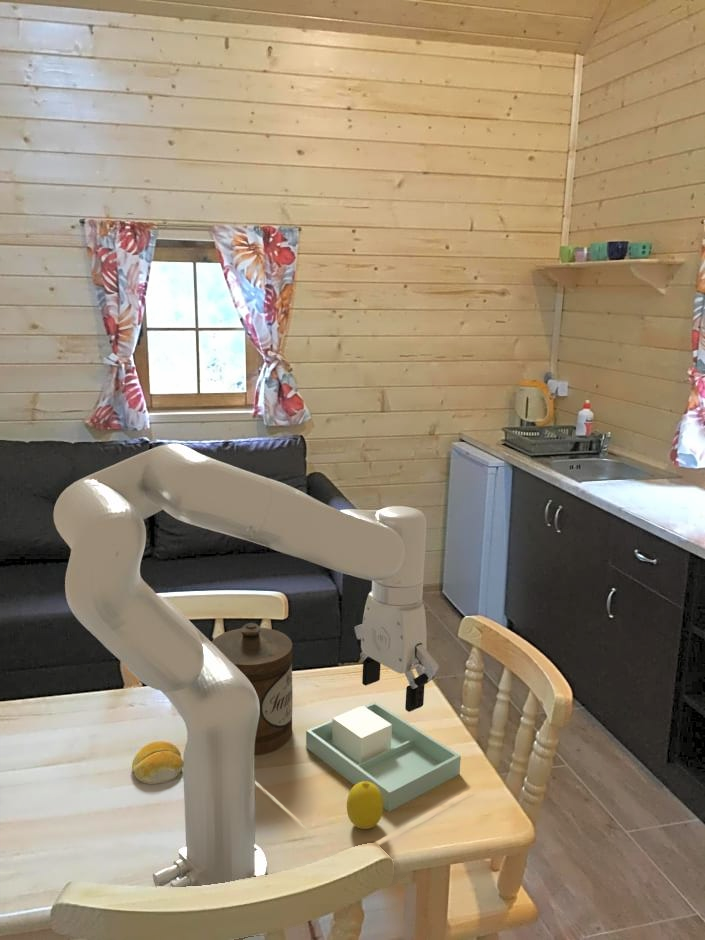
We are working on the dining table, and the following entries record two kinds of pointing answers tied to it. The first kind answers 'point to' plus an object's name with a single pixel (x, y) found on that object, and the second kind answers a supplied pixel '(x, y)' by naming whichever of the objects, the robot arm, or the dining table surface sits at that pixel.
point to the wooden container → (264, 679)
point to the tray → (391, 760)
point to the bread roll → (157, 763)
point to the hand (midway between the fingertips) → (392, 695)
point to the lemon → (364, 805)
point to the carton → (361, 734)
